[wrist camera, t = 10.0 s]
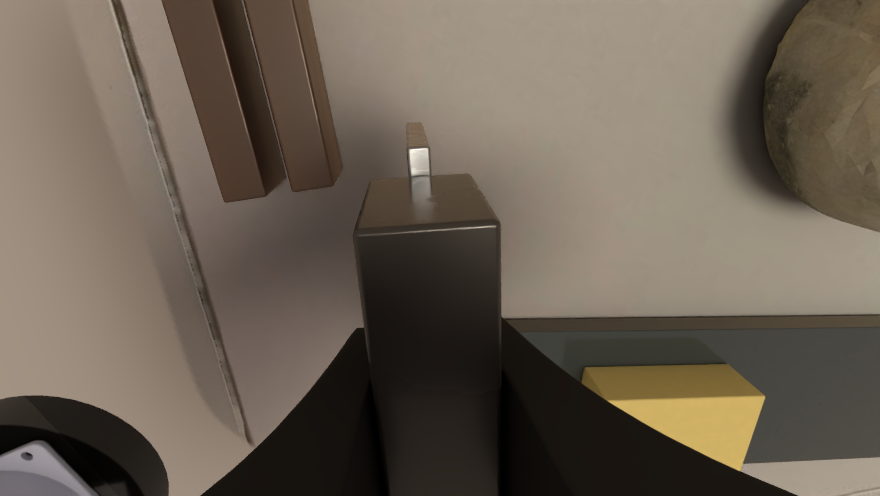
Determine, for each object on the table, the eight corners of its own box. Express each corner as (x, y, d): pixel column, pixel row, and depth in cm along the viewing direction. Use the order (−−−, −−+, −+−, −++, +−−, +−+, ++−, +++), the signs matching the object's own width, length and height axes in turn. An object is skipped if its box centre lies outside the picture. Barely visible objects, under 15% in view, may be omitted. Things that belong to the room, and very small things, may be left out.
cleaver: (406, 412, 15) (406, 666, 8) (378, 124, 12) (344, 189, 5) (461, 407, 15) (503, 655, 9) (449, 120, 12) (502, 178, 5)
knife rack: (249, 184, 18) (223, 203, 15) (160, -133, 14) (103, -185, 11) (343, 169, 18) (334, 186, 15) (277, -147, 14) (249, -202, 12)
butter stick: (570, 443, 22) (589, 485, 20) (583, 366, 21) (606, 401, 19) (705, 438, 23) (739, 477, 21) (727, 363, 22) (766, 396, 19)
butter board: (408, 461, 23) (409, 480, 22) (412, 319, 20) (413, 333, 19) (1165, 428, 28) (1197, 442, 27) (1249, 310, 25) (1289, 321, 24)
